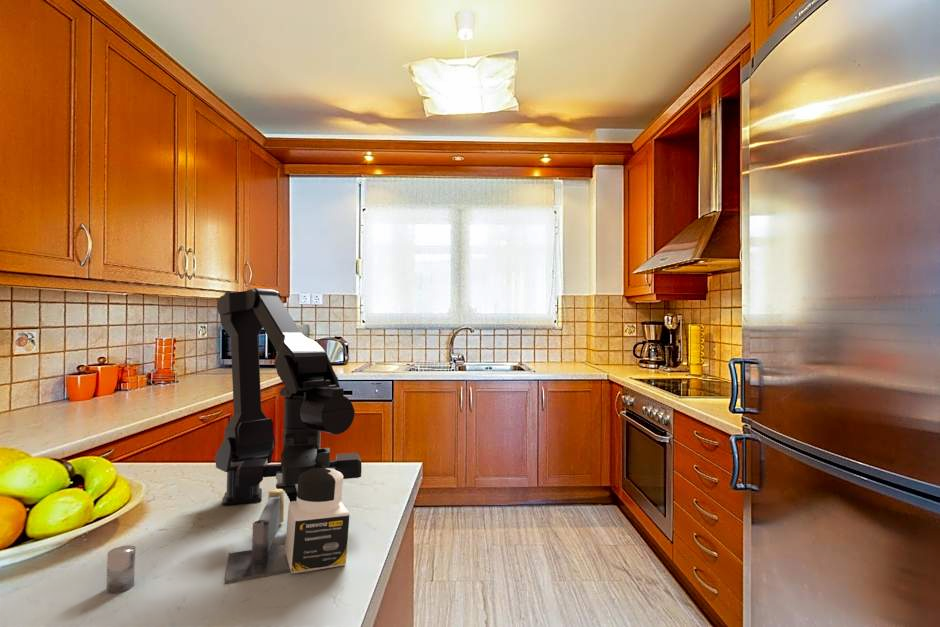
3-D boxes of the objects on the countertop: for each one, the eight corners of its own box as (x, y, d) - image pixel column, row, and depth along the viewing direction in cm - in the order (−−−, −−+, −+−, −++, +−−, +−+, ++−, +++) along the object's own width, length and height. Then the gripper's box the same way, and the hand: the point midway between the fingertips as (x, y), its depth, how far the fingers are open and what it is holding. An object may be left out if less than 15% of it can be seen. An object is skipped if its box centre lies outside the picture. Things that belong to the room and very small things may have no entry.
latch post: (109, 584, 60) (111, 547, 60) (136, 579, 61) (137, 543, 61) (103, 595, 57) (104, 557, 58) (131, 590, 59) (132, 553, 59)
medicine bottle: (290, 575, 62) (298, 480, 62) (284, 552, 68) (291, 466, 69) (346, 566, 65) (353, 476, 66) (335, 545, 71) (341, 463, 72)
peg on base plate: (228, 556, 68) (229, 516, 68) (289, 546, 71) (290, 508, 71) (224, 583, 60) (226, 539, 61) (292, 571, 63) (293, 529, 64)
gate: (271, 552, 68) (272, 516, 68) (253, 554, 67) (254, 518, 67) (284, 518, 80) (285, 488, 80) (269, 519, 80) (269, 489, 80)
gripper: (229, 439, 67) (226, 551, 67) (364, 432, 73) (363, 536, 72) (243, 424, 78) (240, 521, 78) (359, 419, 84) (358, 510, 83)
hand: (300, 522), depth 77 cm, fingers closed
